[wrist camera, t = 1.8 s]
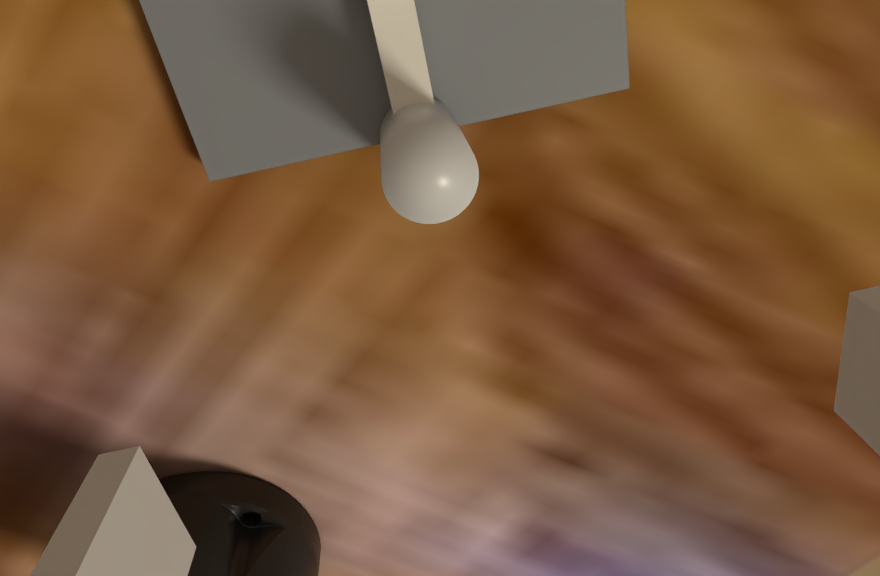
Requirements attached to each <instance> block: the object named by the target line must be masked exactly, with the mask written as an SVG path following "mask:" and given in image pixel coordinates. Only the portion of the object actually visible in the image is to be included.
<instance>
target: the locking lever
mask: <svg viewBox="0 0 880 576" xmlns="http://www.w3.org/2000/svg"><path fill="white" fill-rule="evenodd" d="M367 3H368V7H369V11H370V16H371V20H372V24H373V29H374V33H375V37H376V42H377V46H378V50H379V55H380V59H381V63H382V68H383V72H384V76H385V81H386V85H387V89H388V94H389V98H390V102H391V107H392V108H391V109H390V110H389V111H388V112H387V114H386V115H385V117H384V119H383V121H382V124H381V128H380V157H381V183H382V189H383V192H384V195H385V197H386V199H387V201H388V202H389V204H390V205H391V206H392V208H393V209H394V210H395V211H396V212H397V213H399V214H400V215H401V216H403V217H404V218H406V219H408V220H411V221H414V222H417V223H422V224H436V223H441V222H445V221H447V220H450V219H452V218H454V217H455V216H457V215H458V214H460V213H461V212H462V211H463V210H464V209H465V208H466V207H467V206H468V205H469V204H470V202H471V201H472V199H473V197H474V195H475V193H476V190H477V187H478V181H479V170H478V164H477V161H476V158H475V156H474V154H473V152H472V150H471V148H470V146H469V144H468V142H467V140H466V139H465V137H464V135H463V133H462V131H461V129H460V127H459V125H458V123H457V122H456V120H455V118H454V116H453V114H452V113H451V111H450V110H449V109H448V108H447V107H446V106H445V105H444V104H443V103H441V102H440V101H438V100H436V99H434V98H433V93H432V88H431V83H430V78H429V73H428V68H427V63H426V58H425V53H424V48H423V43H422V38H421V32H420V27H419V22H418V17H417V12H416V7H415V2H414V0H367Z"/></svg>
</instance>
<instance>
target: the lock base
mask: <svg viewBox="0 0 880 576" xmlns="http://www.w3.org/2000/svg"><path fill="white" fill-rule="evenodd" d="M139 1H140V4H141V7H142V9H143V12H144V14H145V17H146V19H147V22H148V24H149V27H150V30H151V32H152V35H153V37H154V40H155V42H156V45H157V48H158V50H159V53H160V55H161V58H162V60H163V63H164V66H165V68H166V71H167V73H168V76H169V78H170V81H171V84H172V86H173V89H174V91H175V94H176V96H177V99H178V101H179V104H180V107H181V109H182V112H183V114H184V117H185V119H186V122H187V125H188V127H189V130H190V132H191V135H192V137H193V140H194V143H195V145H196V148H197V150H198V153H199V155H200V158H201V161H202V163H203V166H204V168H205V171H206V173H207V176H208V178H209V181H215V180H219V179H224V178H228V177H233V176H237V175H242V174H246V173H251V172H255V171H260V170H264V169H269V168H273V167H278V166H282V165H287V164H291V163H296V162H300V161H305V160H309V159H314V158H318V157H323V156H327V155H332V154H336V153H341V152H345V151H350V150H354V149H359V148H363V147H368V146H372V145H377V144H380V128H381V124H382V121H383V119H384V117H385V115H386V114H387V112H388V111H389V110H390V109H391V108H392V107H391V102H390V98H389V94H388V89H387V85H386V81H385V76H384V72H383V68H382V63H381V59H380V55H379V50H378V46H377V42H376V37H375V33H374V29H373V24H372V20H371V16H370V11H369V7H368V3H367V0H139ZM414 2H415V7H416V12H417V17H418V22H419V27H420V32H421V38H422V43H423V48H424V53H425V58H426V63H427V68H428V73H429V78H430V83H431V88H432V93H433V98H434V99H436V100H438V101H440V102H441V103H443V104H444V105H445V106H446V107H447V108H448V109H449V110H450V111H451V113H452V114H453V116H454V118H455V120H456V122H457V123H458V125H459V126H462V125H466V124H471V123H475V122H480V121H484V120H489V119H493V118H498V117H502V116H507V115H511V114H516V113H520V112H525V111H529V110H534V109H538V108H543V107H547V106H552V105H556V104H561V103H565V102H570V101H574V100H579V99H583V98H588V97H592V96H597V95H601V94H606V93H610V92H615V91H619V90H624V89H628V88H629V68H628V48H627V29H626V9H625V0H414Z"/></svg>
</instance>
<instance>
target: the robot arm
mask: <svg viewBox="0 0 880 576" xmlns="http://www.w3.org/2000/svg"><path fill="white" fill-rule="evenodd" d="M834 411H835V412H836V413H837V414H838V415H839V416H840V417H841V418H842V419H843V420H844V421H845V422H846V423H847V424H848V425H849V426H850V427H851V428H852V429H853V430H854V431H855V432H856V433H857V434H858V435H859V436H860V437H861V438H862V439H863V440H864V441H865V442H866V443H867V444H869V445H870V446H871V447H872V448H873V449H874V450H875V451H876V452H877V453H878V454H879V455H880V286H877V287H873V288H868V289H863V290H859V291H854V292H850V294H849V302H848V309H847V316H846V324H845V331H844V338H843V346H842V353H841V360H840V368H839V375H838V382H837V390H836V397H835V405H834ZM320 551H321V543H320V537H319V533H318V530H317V527H316V525H315V523H314V521H313V520H312V518H311V517H310V515H309V514H308V512H307V511H306V510H305V509H304V508H303V507H302V506H301V505H300V504H299V503H298V502H297V501H296V500H294V499H293V498H292V497H291V496H289V495H288V494H286V493H285V492H283V491H281V490H280V489H278V488H276V487H274V486H272V485H270V484H267V483H265V482H262V481H260V480H256V479H253V478H250V477H246V476H242V475H237V474H230V473H221V472H197V473H188V474H182V475H176V476H172V477H169V478H165V479H162V480H160V481H159V480H158V478H157V476H156V474H155V472H154V471H153V469H152V467H151V465H150V464H149V462H148V460H147V458H146V456H145V455H144V453H143V451H142V449H141V448H140V446H136V447H131V448H126V449H122V450H117V451H112V452H108V453H103V454H98V456H97V458H96V460H95V461H94V463H93V465H92V467H91V469H90V470H89V472H88V474H87V476H86V477H85V479H84V481H83V483H82V484H81V486H80V488H79V490H78V492H77V493H76V495H75V497H74V499H73V500H72V502H71V504H70V506H69V507H68V509H67V511H66V513H65V515H64V516H63V518H62V520H61V522H60V523H59V525H58V527H57V529H56V530H55V532H54V534H53V536H52V538H51V539H50V541H49V543H48V545H47V546H46V548H45V550H44V552H43V553H42V555H41V557H40V559H39V560H38V562H37V564H36V566H35V568H34V569H33V571H32V573H31V575H30V576H318V572H319V562H320Z"/></svg>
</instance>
